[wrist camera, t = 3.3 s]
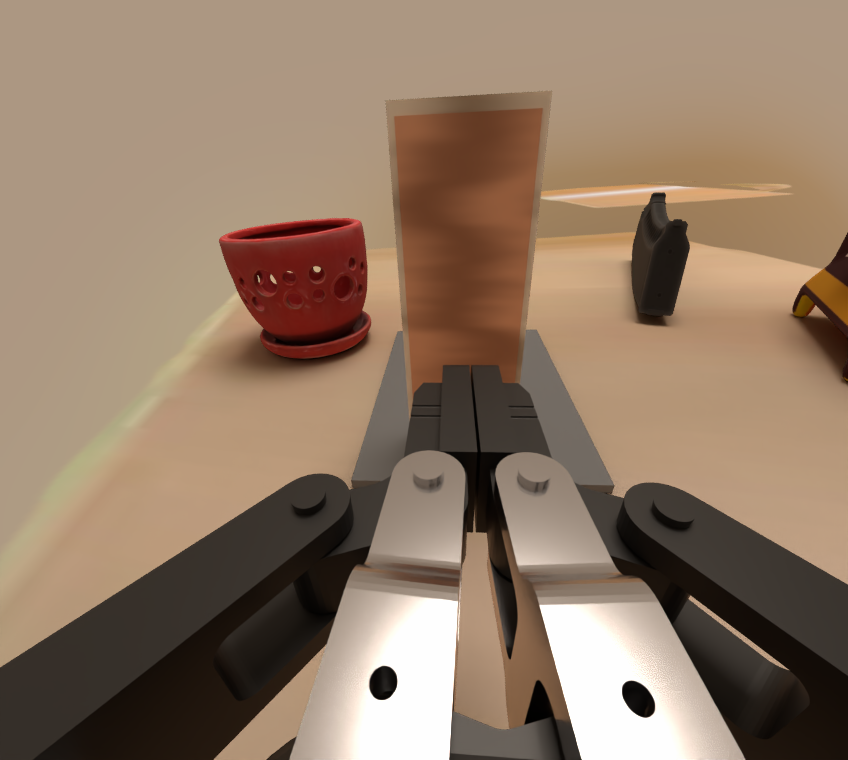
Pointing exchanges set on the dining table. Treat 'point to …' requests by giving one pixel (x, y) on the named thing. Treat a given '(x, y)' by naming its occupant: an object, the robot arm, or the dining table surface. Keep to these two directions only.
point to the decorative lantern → (828, 293)
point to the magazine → (658, 258)
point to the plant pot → (302, 284)
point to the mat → (536, 377)
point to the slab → (466, 227)
